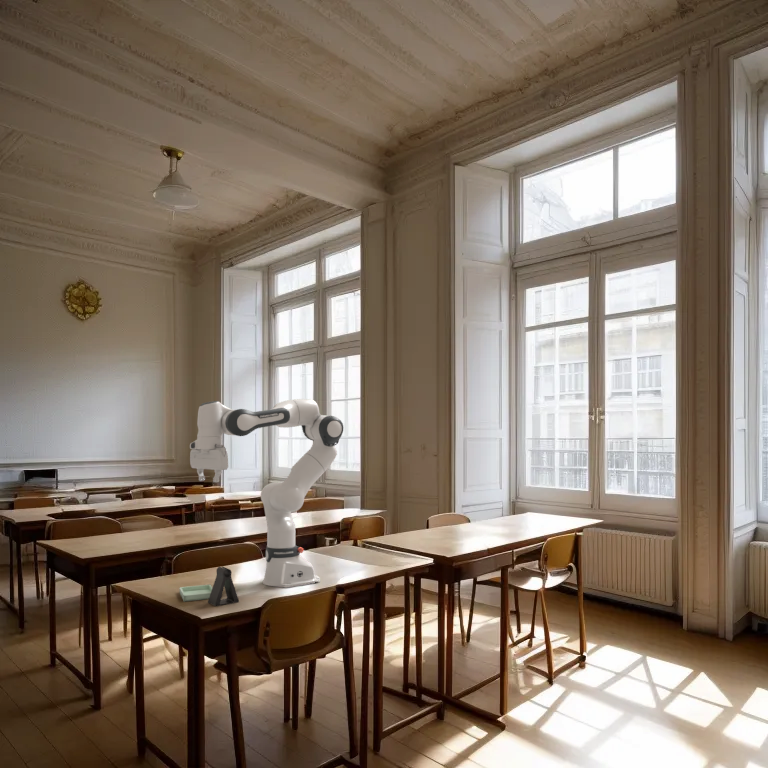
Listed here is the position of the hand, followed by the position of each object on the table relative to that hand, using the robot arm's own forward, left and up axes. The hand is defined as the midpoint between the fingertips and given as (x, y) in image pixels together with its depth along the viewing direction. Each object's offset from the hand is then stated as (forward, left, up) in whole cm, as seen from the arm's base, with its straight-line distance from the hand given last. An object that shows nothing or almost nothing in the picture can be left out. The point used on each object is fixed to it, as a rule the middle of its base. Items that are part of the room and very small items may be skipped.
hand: (208, 481), depth 240 cm
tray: (+4, +1, -41) cm, 41 cm away
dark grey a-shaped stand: (-3, +14, -42) cm, 44 cm away
